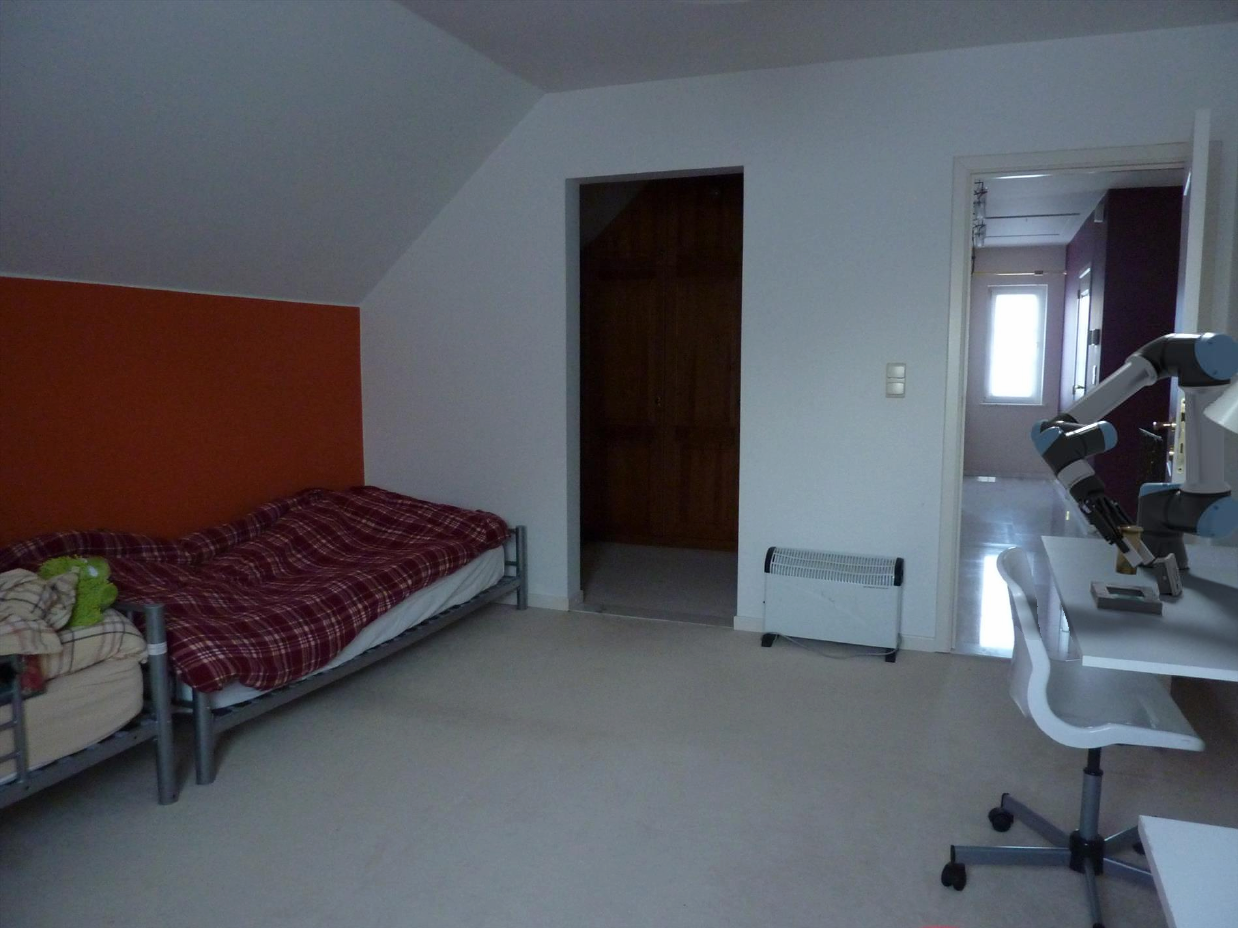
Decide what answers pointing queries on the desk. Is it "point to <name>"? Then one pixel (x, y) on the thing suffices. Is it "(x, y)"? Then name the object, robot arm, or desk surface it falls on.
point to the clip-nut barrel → (1134, 538)
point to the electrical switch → (1167, 575)
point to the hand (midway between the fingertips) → (1143, 562)
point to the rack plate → (1126, 597)
